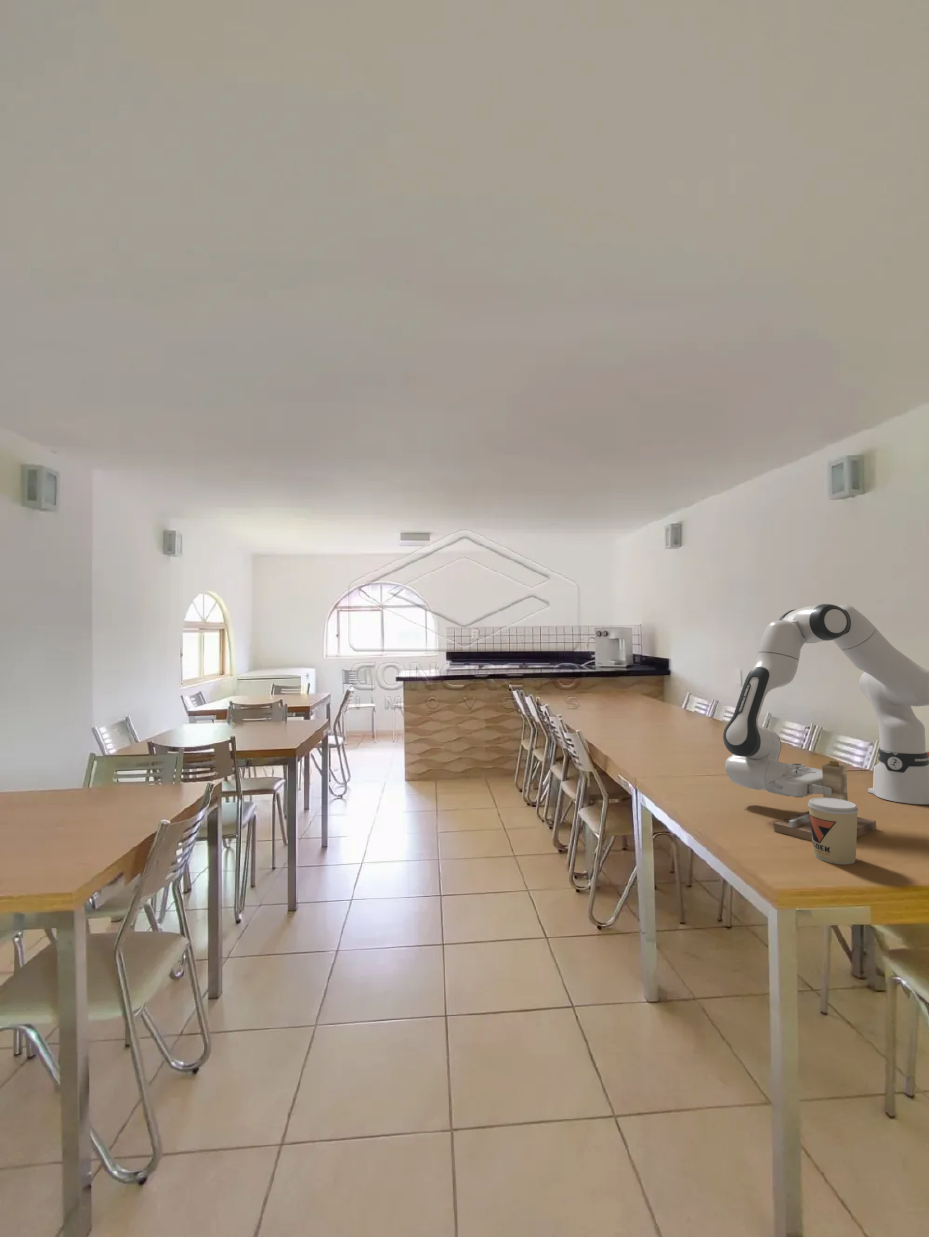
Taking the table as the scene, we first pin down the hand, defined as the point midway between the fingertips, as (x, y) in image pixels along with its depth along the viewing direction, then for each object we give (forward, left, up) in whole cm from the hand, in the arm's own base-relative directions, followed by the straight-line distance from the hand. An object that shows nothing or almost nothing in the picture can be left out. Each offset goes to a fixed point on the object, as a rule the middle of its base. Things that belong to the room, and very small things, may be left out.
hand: (838, 789), depth 149 cm
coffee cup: (+24, +9, -10) cm, 27 cm away
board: (+6, -1, -9) cm, 11 cm away
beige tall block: (0, -1, -7) cm, 7 cm away
